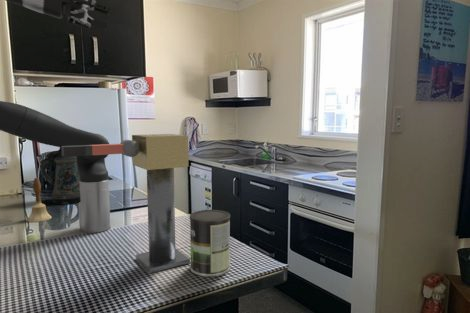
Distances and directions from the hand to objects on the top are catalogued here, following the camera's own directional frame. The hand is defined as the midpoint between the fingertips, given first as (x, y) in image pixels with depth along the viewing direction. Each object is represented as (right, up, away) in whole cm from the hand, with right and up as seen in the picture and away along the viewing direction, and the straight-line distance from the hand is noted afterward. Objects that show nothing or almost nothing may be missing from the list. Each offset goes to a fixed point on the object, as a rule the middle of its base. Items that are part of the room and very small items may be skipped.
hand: (108, 19), depth 100 cm
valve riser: (+17, -67, -5) cm, 70 cm away
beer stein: (-41, -60, +63) cm, 96 cm away
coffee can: (+30, -68, -10) cm, 75 cm away
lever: (+5, -40, -17) cm, 43 cm away
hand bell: (-39, -63, +34) cm, 82 cm away
